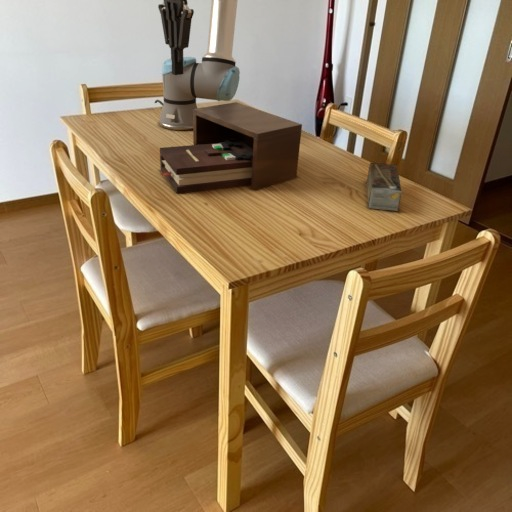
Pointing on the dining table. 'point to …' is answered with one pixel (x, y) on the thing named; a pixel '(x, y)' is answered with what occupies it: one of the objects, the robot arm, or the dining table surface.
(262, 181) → the walnut shelf
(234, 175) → the decorative book
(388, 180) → the beverage carton
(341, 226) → the dining table surface
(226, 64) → the robot arm
